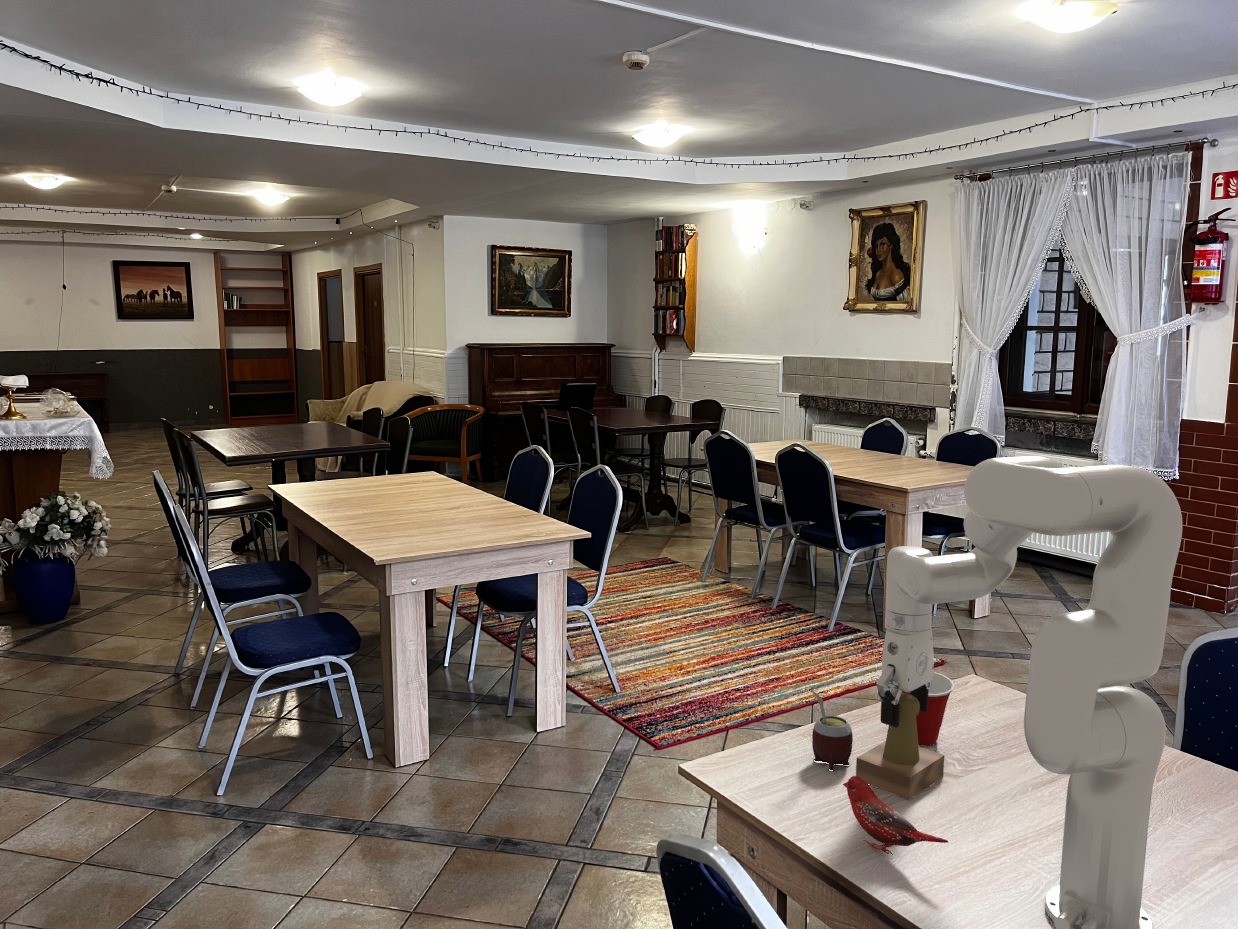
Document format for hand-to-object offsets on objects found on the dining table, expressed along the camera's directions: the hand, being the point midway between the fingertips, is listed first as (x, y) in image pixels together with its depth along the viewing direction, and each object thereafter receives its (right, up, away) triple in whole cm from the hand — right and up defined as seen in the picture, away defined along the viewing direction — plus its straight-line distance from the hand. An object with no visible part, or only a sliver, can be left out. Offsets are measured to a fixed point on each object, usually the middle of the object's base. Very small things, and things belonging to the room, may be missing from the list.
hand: (904, 716), depth 158 cm
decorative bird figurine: (-9, -15, -22) cm, 28 cm away
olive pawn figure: (0, -7, +1) cm, 8 cm away
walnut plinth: (0, -11, +2) cm, 11 cm away
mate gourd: (-11, -11, +7) cm, 17 cm away
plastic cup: (+9, -9, +17) cm, 21 cm away
